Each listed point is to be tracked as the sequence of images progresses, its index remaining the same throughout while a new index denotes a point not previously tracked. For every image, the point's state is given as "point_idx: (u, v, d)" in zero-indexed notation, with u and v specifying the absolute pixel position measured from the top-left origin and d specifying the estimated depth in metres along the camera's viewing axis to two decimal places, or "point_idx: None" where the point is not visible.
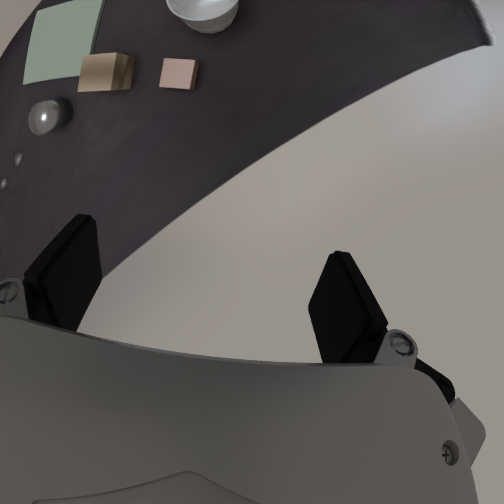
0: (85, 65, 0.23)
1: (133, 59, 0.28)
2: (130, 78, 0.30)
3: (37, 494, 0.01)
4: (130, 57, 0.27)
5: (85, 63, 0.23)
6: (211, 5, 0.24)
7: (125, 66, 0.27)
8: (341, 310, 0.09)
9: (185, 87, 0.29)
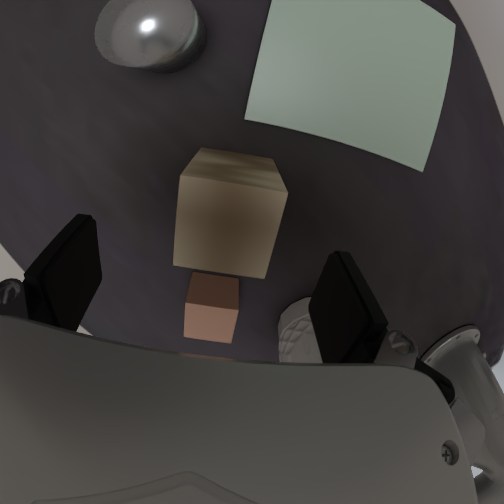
0: (254, 200, 0.13)
1: None
2: None
3: (37, 494, 0.01)
4: None
5: (260, 201, 0.13)
6: None
7: None
8: (341, 310, 0.09)
9: (186, 332, 0.22)
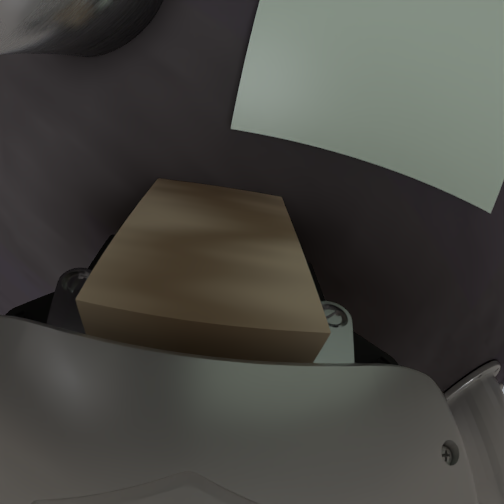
0: (252, 350, 0.05)
1: None
2: None
3: (37, 494, 0.01)
4: None
5: (264, 350, 0.05)
6: None
7: None
8: None
9: None
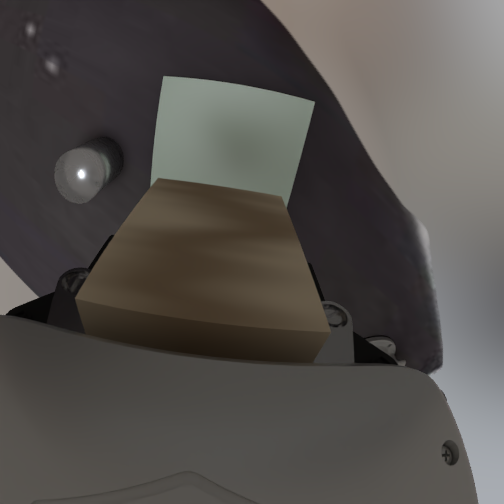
0: (252, 349, 0.05)
1: None
2: None
3: (37, 494, 0.01)
4: None
5: (264, 349, 0.05)
6: None
7: None
8: None
9: None
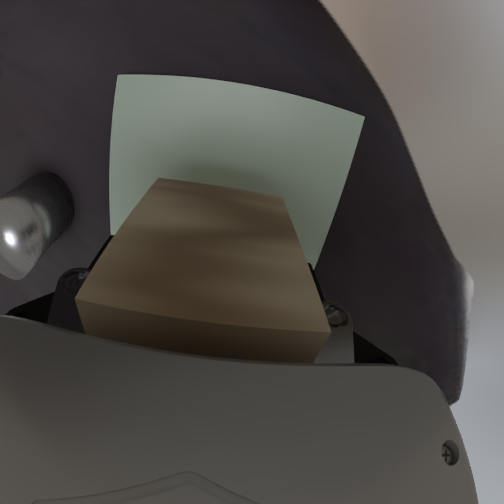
0: (253, 349, 0.05)
1: None
2: None
3: (37, 494, 0.01)
4: None
5: (265, 350, 0.05)
6: None
7: None
8: None
9: None
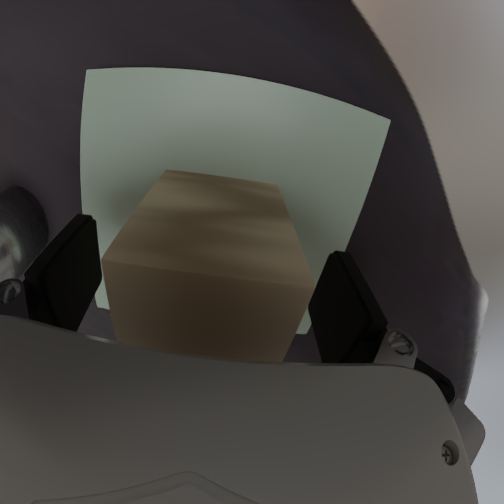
0: (250, 302, 0.06)
1: None
2: None
3: (37, 494, 0.01)
4: None
5: (260, 302, 0.07)
6: None
7: None
8: (341, 310, 0.09)
9: None
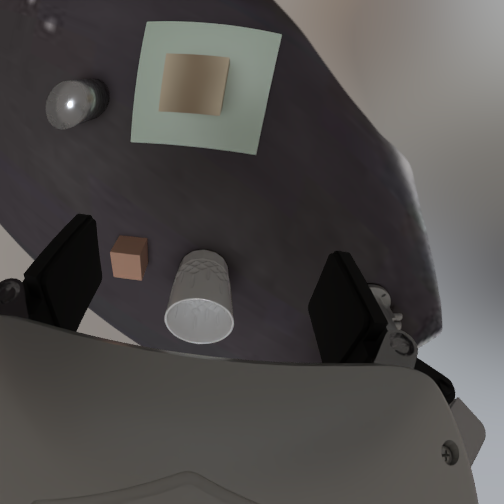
0: (209, 63, 0.17)
1: None
2: None
3: (37, 494, 0.01)
4: None
5: (212, 63, 0.17)
6: None
7: None
8: (341, 310, 0.09)
9: (114, 273, 0.33)
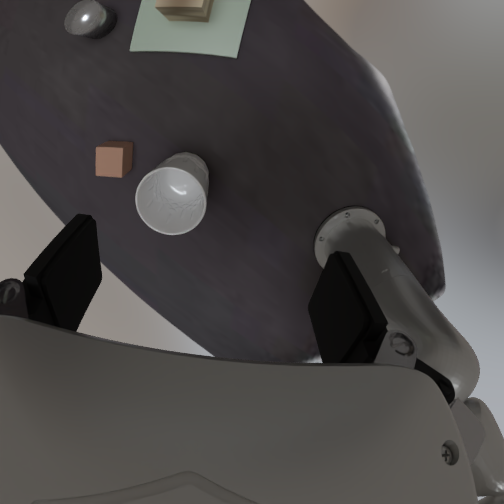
0: None
1: (203, 20, 0.24)
2: (181, 20, 0.24)
3: (37, 494, 0.01)
4: (204, 18, 0.23)
5: None
6: (189, 179, 0.35)
7: (190, 15, 0.21)
8: (341, 310, 0.09)
9: (96, 171, 0.31)
